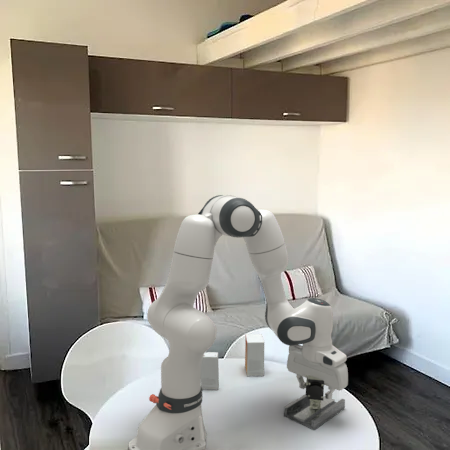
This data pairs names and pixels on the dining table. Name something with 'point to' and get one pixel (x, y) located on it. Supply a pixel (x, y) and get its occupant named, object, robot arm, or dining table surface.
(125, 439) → the dining table surface
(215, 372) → the skincare box
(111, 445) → the dining table surface
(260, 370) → the small box
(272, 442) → the dining table surface
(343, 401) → the rail plate
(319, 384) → the pneumatic valve
